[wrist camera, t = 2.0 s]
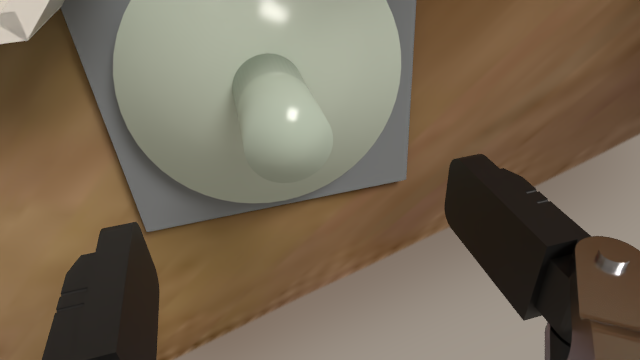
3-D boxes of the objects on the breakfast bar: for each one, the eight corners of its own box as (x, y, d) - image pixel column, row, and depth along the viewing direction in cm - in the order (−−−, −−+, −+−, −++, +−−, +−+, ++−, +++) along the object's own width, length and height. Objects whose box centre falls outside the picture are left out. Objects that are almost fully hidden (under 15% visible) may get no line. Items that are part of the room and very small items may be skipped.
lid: (397, -92, 17) (479, -80, 12) (390, 167, 24) (440, 240, 19) (67, -59, 15) (11, -30, 10) (162, 212, 22) (154, 305, 17)
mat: (416, -125, 17) (423, -125, 17) (401, 173, 25) (406, 179, 25) (28, -92, 15) (22, -91, 14) (147, 224, 23) (146, 232, 22)
